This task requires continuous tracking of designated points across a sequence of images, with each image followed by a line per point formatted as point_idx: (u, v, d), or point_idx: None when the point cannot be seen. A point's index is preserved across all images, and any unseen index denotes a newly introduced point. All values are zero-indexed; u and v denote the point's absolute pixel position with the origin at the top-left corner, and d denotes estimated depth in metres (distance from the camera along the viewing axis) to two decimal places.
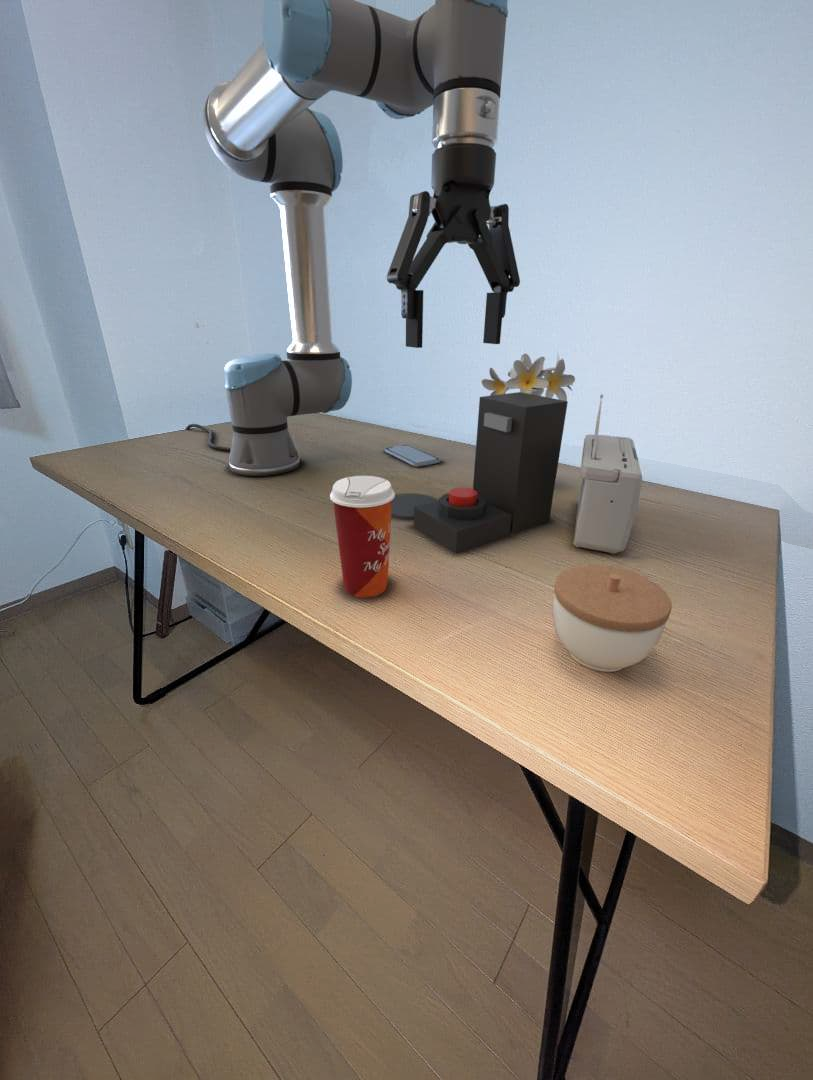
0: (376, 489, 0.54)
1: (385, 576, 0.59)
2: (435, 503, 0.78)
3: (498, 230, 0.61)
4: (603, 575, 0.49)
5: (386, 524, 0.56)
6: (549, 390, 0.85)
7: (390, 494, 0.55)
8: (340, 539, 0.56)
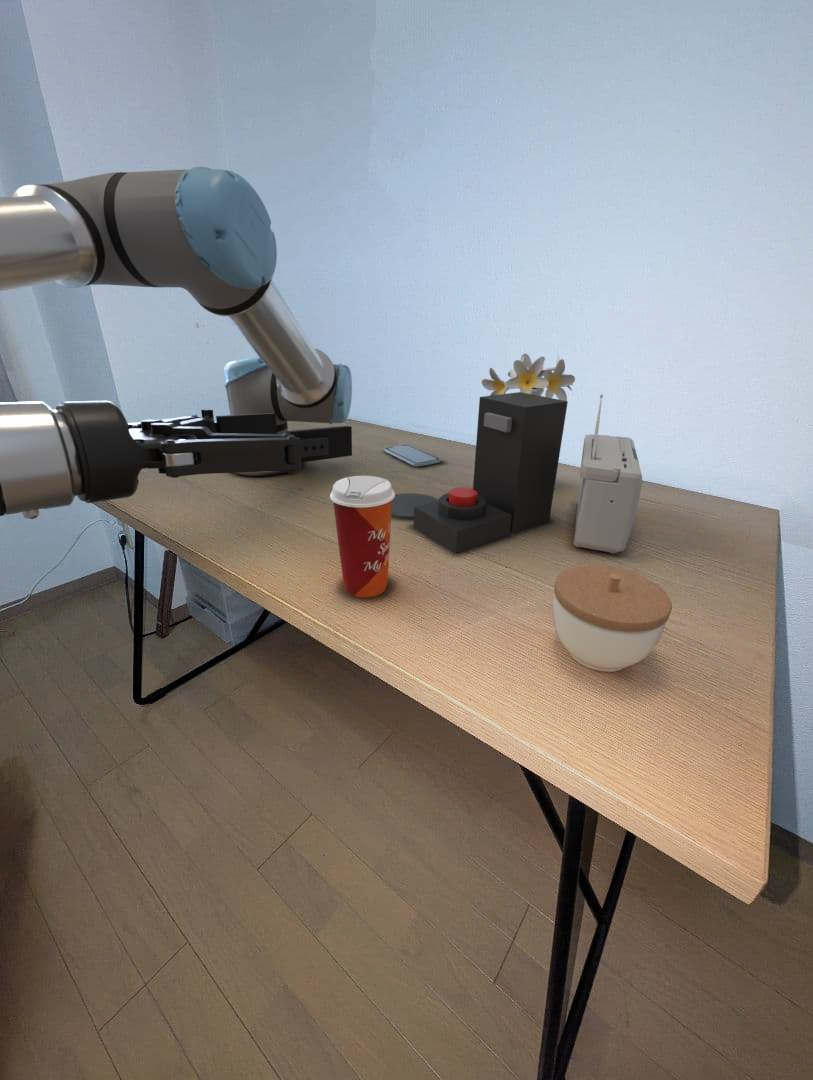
0: (376, 489, 0.54)
1: (385, 576, 0.59)
2: (435, 503, 0.78)
3: None
4: (603, 575, 0.49)
5: (386, 524, 0.56)
6: (549, 390, 0.85)
7: (390, 494, 0.55)
8: (340, 539, 0.56)
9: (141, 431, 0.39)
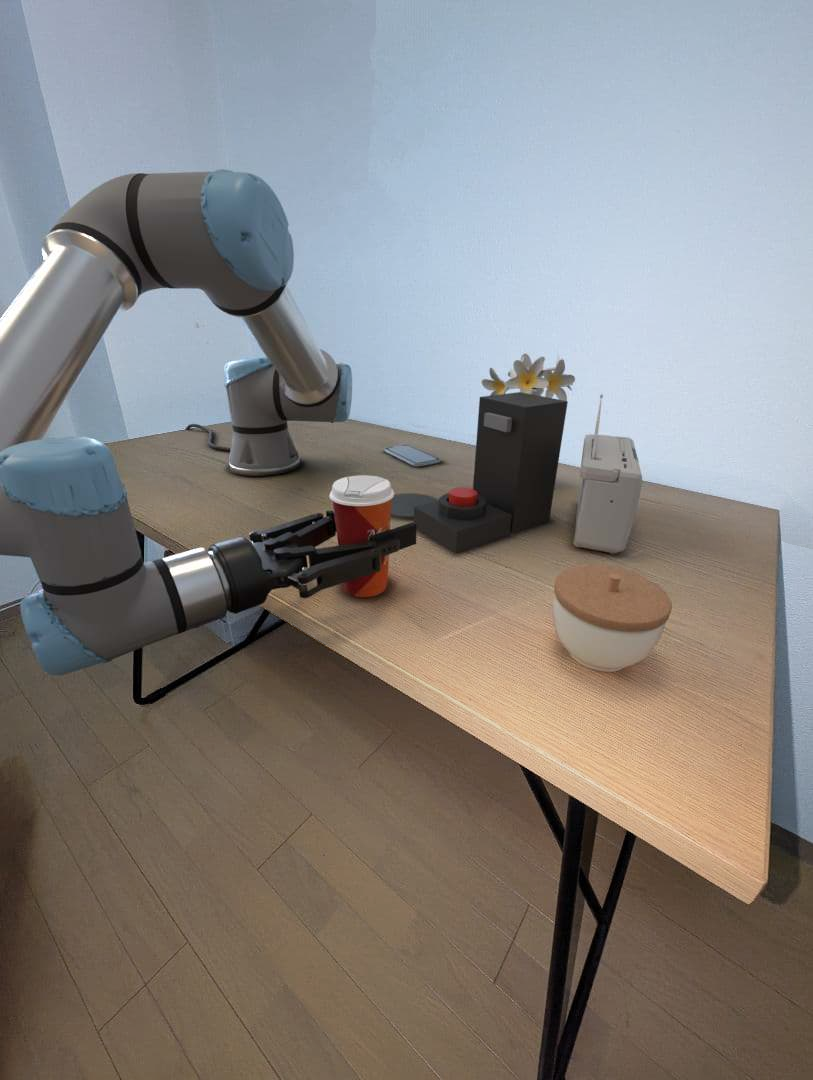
0: (375, 488, 0.54)
1: (385, 575, 0.59)
2: (435, 503, 0.78)
3: None
4: (603, 575, 0.49)
5: (385, 523, 0.56)
6: (549, 390, 0.85)
7: (389, 493, 0.55)
8: (340, 538, 0.56)
9: (265, 551, 0.51)
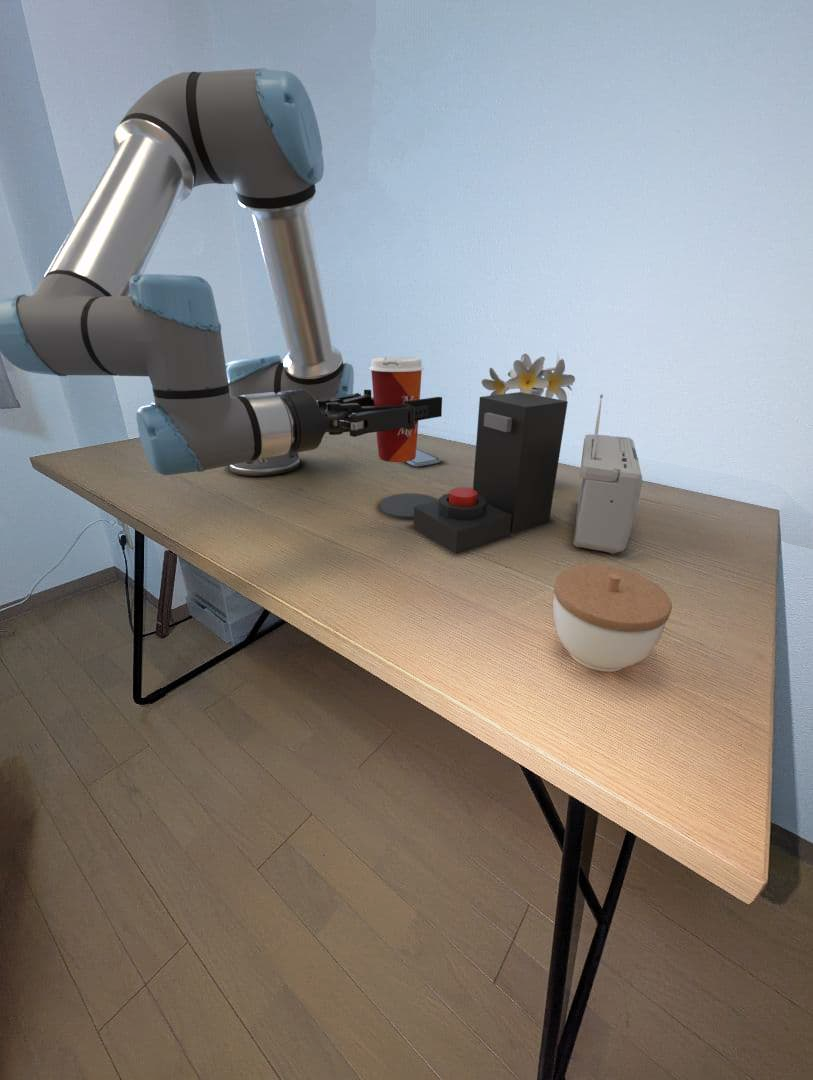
0: (409, 359, 0.64)
1: (414, 444, 0.69)
2: (435, 503, 0.78)
3: None
4: (602, 575, 0.49)
5: (417, 392, 0.65)
6: (549, 390, 0.85)
7: (420, 365, 0.65)
8: None
9: None
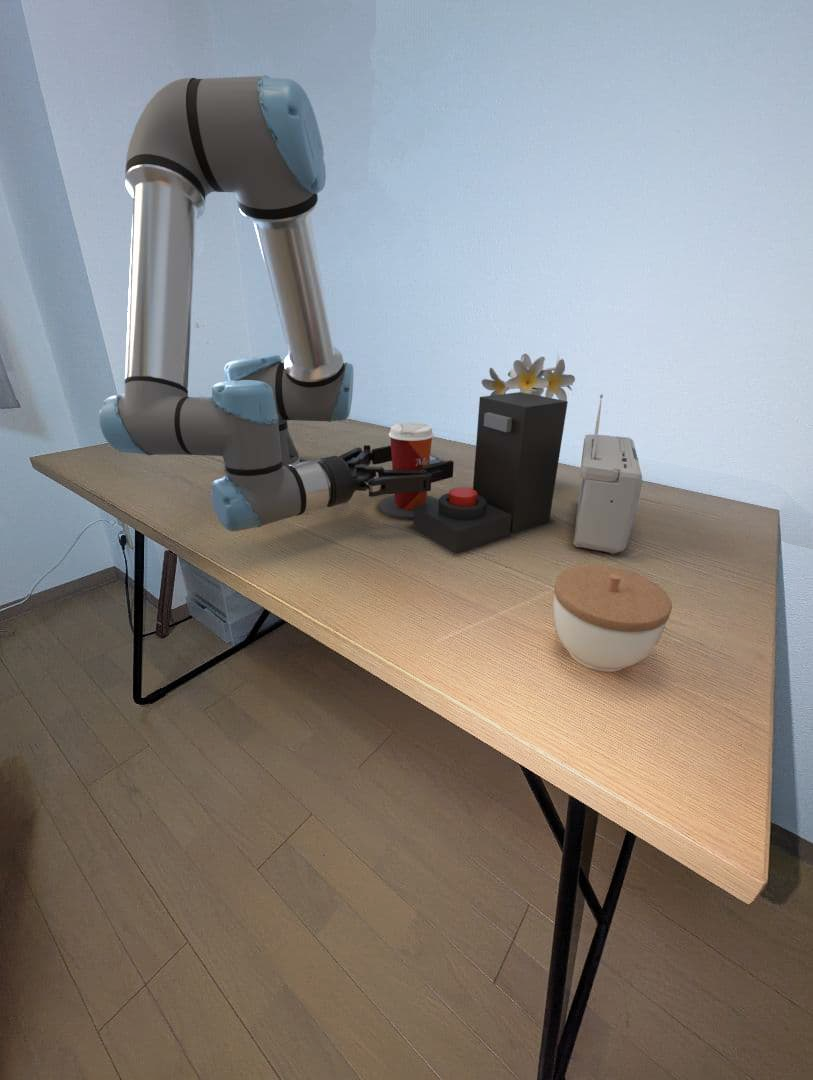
0: (422, 429, 0.78)
1: (425, 495, 0.83)
2: (435, 503, 0.78)
3: None
4: (603, 575, 0.49)
5: (428, 454, 0.79)
6: (549, 390, 0.85)
7: (431, 433, 0.78)
8: (395, 466, 0.80)
9: None
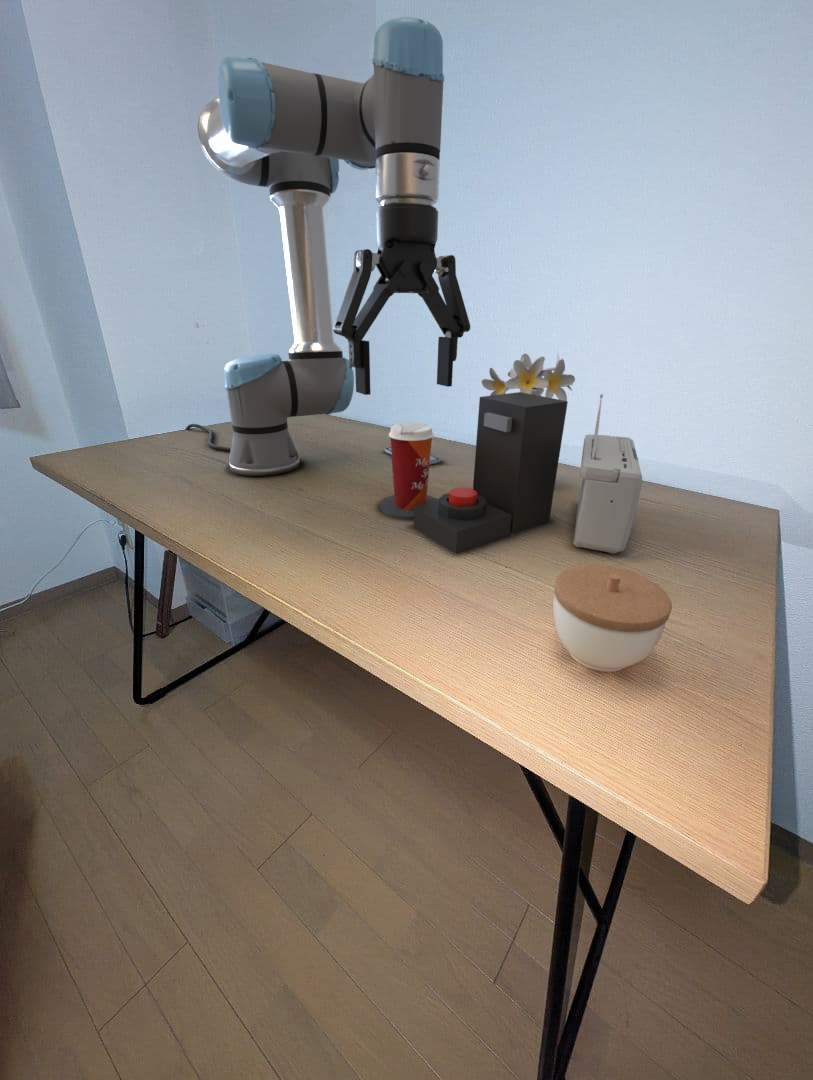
0: (422, 429, 0.78)
1: (425, 495, 0.83)
2: (435, 503, 0.78)
3: (446, 279, 0.63)
4: (602, 575, 0.49)
5: (428, 454, 0.79)
6: (549, 390, 0.85)
7: (431, 433, 0.78)
8: (395, 466, 0.80)
9: None
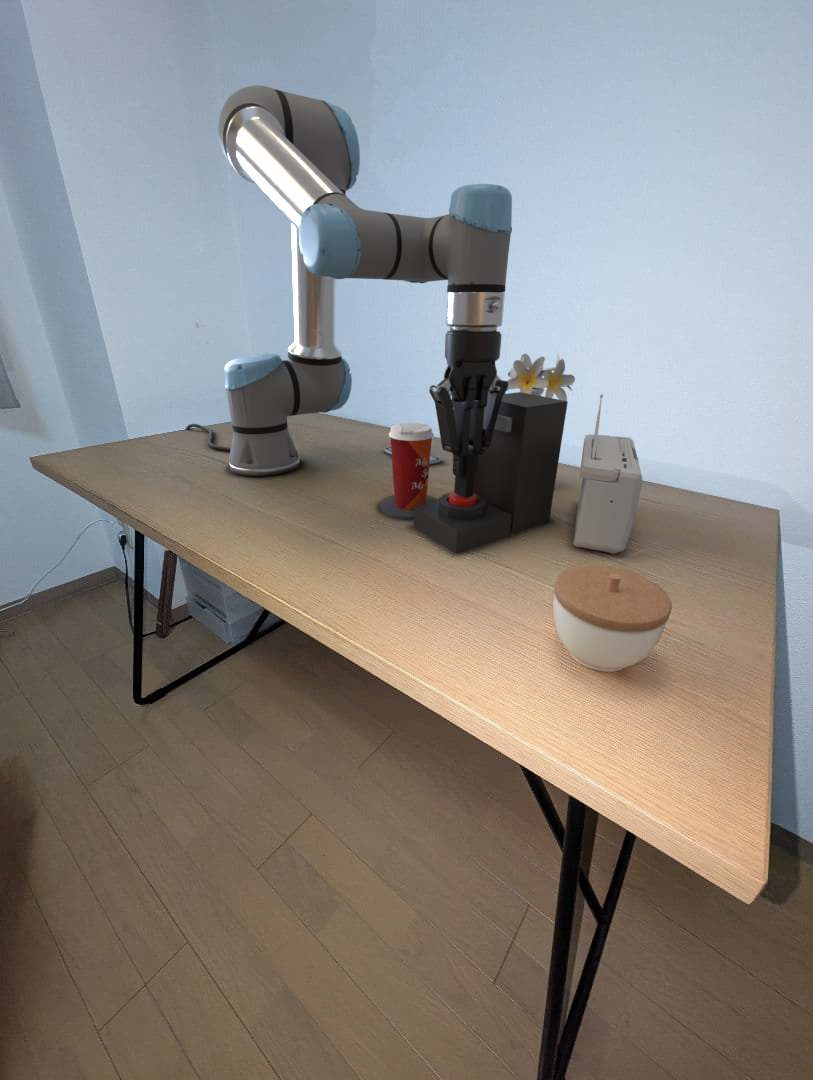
0: (422, 429, 0.78)
1: (425, 495, 0.83)
2: (435, 503, 0.78)
3: (493, 396, 0.69)
4: (603, 575, 0.49)
5: (428, 454, 0.79)
6: (549, 390, 0.85)
7: (431, 433, 0.78)
8: (395, 466, 0.80)
9: None
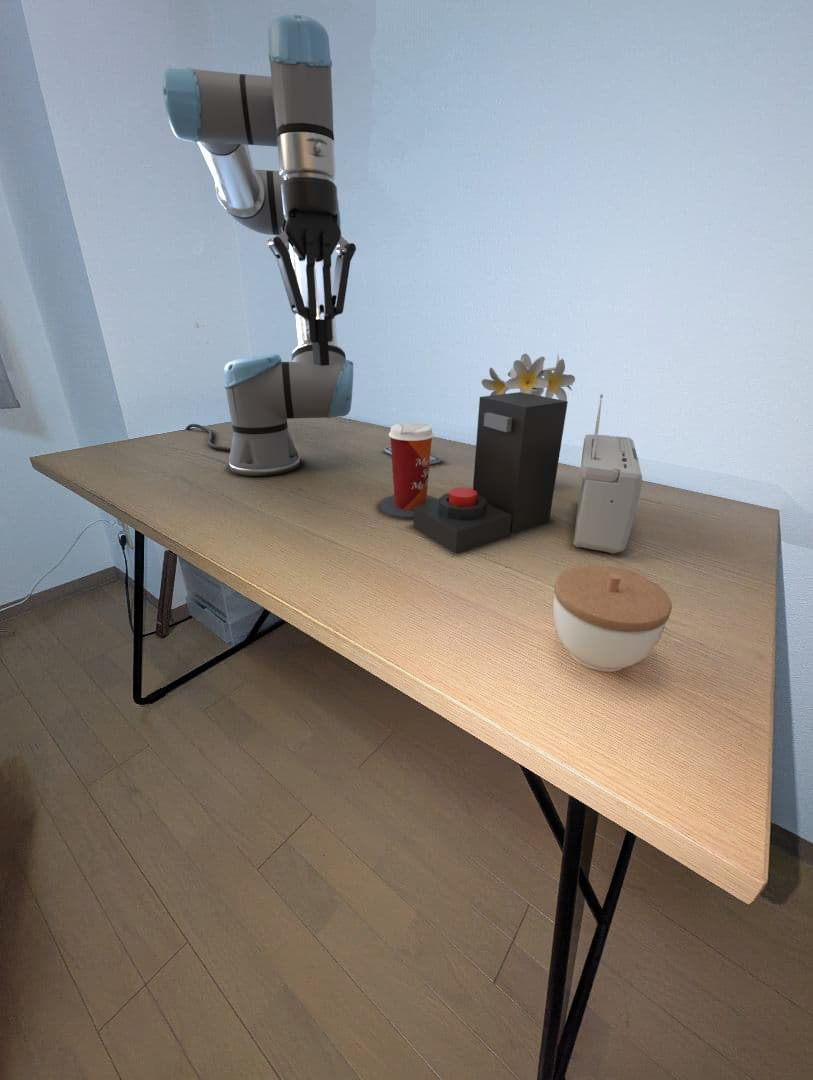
0: (422, 429, 0.78)
1: (425, 495, 0.83)
2: (435, 503, 0.78)
3: (341, 259, 0.70)
4: (603, 575, 0.49)
5: (428, 454, 0.79)
6: (549, 390, 0.85)
7: (431, 433, 0.78)
8: (395, 466, 0.80)
9: None
